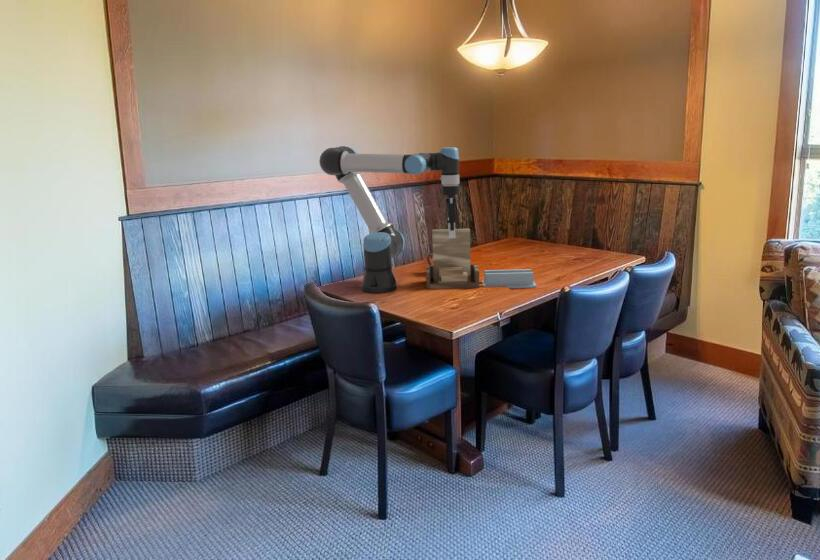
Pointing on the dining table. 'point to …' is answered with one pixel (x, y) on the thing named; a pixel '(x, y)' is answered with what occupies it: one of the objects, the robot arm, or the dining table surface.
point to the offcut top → (450, 271)
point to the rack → (472, 284)
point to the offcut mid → (455, 277)
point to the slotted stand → (509, 278)
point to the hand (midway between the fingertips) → (451, 235)
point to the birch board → (451, 251)
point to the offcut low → (451, 281)
